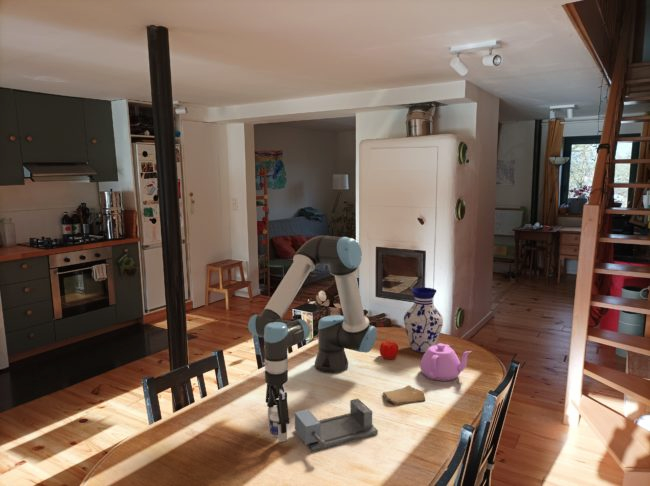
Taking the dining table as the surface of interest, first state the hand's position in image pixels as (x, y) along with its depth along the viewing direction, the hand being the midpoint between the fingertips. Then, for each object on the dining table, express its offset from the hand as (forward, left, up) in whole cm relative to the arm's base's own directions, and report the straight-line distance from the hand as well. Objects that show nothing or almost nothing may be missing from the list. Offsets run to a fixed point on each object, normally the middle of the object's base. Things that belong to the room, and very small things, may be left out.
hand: (277, 432), depth 158 cm
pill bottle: (0, 0, 0) cm, 0 cm away
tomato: (-40, +69, 0) cm, 80 cm away
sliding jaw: (+12, +8, +2) cm, 14 cm away
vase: (-42, +90, 0) cm, 99 cm away
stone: (-3, +53, -1) cm, 53 cm away
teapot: (-12, +80, 0) cm, 81 cm away
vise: (+8, +18, 0) cm, 20 cm away
